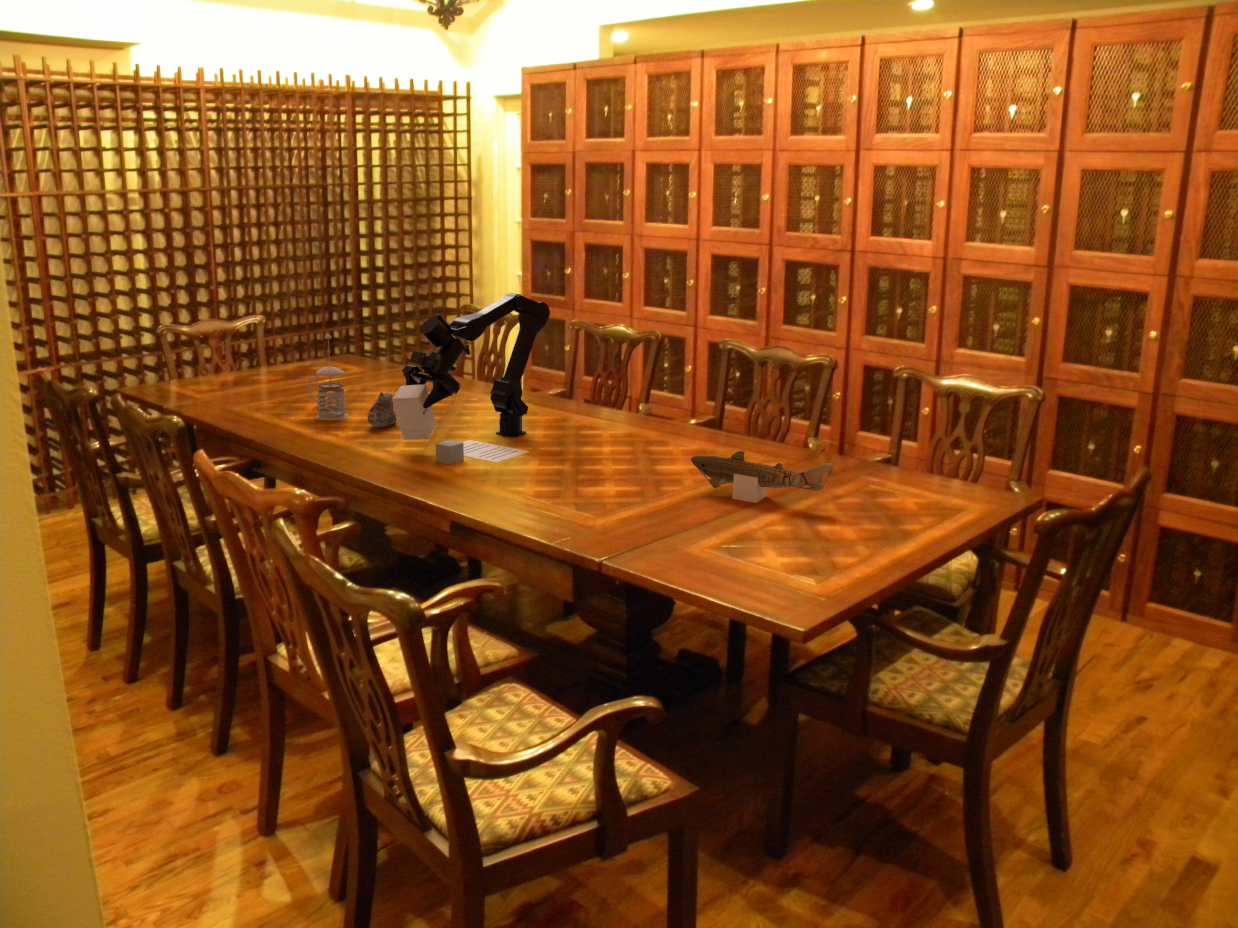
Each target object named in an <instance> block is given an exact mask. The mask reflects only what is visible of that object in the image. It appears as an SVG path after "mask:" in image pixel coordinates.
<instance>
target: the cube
mask: <svg viewBox="0 0 1238 928" xmlns="http://www.w3.org/2000/svg"><path fill="white" fill-rule="evenodd" d="M462 442H463V441H462ZM462 442H460V441H456V440H451V439H447V440H443V441H440V442H438V443H435V461H436V462H438V463H442V464H446V465H454V464H457V463H461V462H463V461H464V460H465V456H464V443H462Z"/></svg>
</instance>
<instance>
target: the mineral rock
mask: <svg viewBox="0 0 1238 928" xmlns="http://www.w3.org/2000/svg"><path fill="white" fill-rule="evenodd" d="M392 399H393V395H392V393H390V392H383V391H380V393H379V394H378V398H377V399H376V401H375V402H374V403H373V404H372V406H371V408H370V409H369V411H368V414H367V422H368V424H370V425H371V426H372V427H374V428H383V427H388V426H390V425H393V424H394V423H396V422H398V418H397V415H396V411H395V410H394V405H393V401H392Z"/></svg>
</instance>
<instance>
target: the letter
mask: <svg viewBox="0 0 1238 928" xmlns="http://www.w3.org/2000/svg"><path fill="white" fill-rule="evenodd" d="M462 443H464V457H468V458H473V459H478V460H481V461H482V460H483V461H488V462H492V463H499V462H502V461H505V460H508V459H511V458H514V457H517V456H521V455H524V454H527V453H529V452H530V451H529V450H525V449H523V450H522V449H518V448H515V447H514V448H513V447H509V446H504V445H498V444H493V443H487V442H483V441H476V440H471V439H467V440H465V441H462Z"/></svg>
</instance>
